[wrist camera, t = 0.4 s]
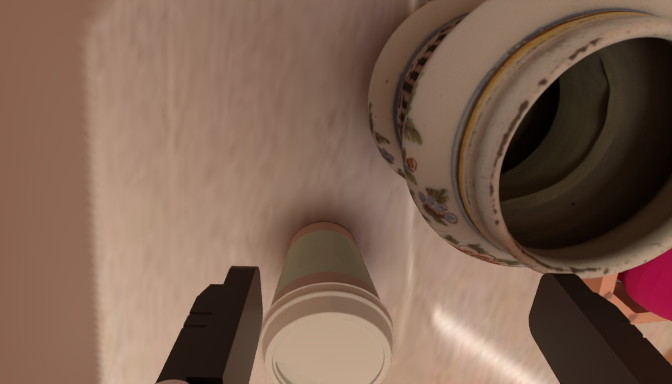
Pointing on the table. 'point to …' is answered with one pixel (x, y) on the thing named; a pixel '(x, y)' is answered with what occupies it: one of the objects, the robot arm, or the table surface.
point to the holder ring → (621, 299)
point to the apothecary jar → (534, 128)
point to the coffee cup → (326, 315)
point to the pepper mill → (651, 284)
